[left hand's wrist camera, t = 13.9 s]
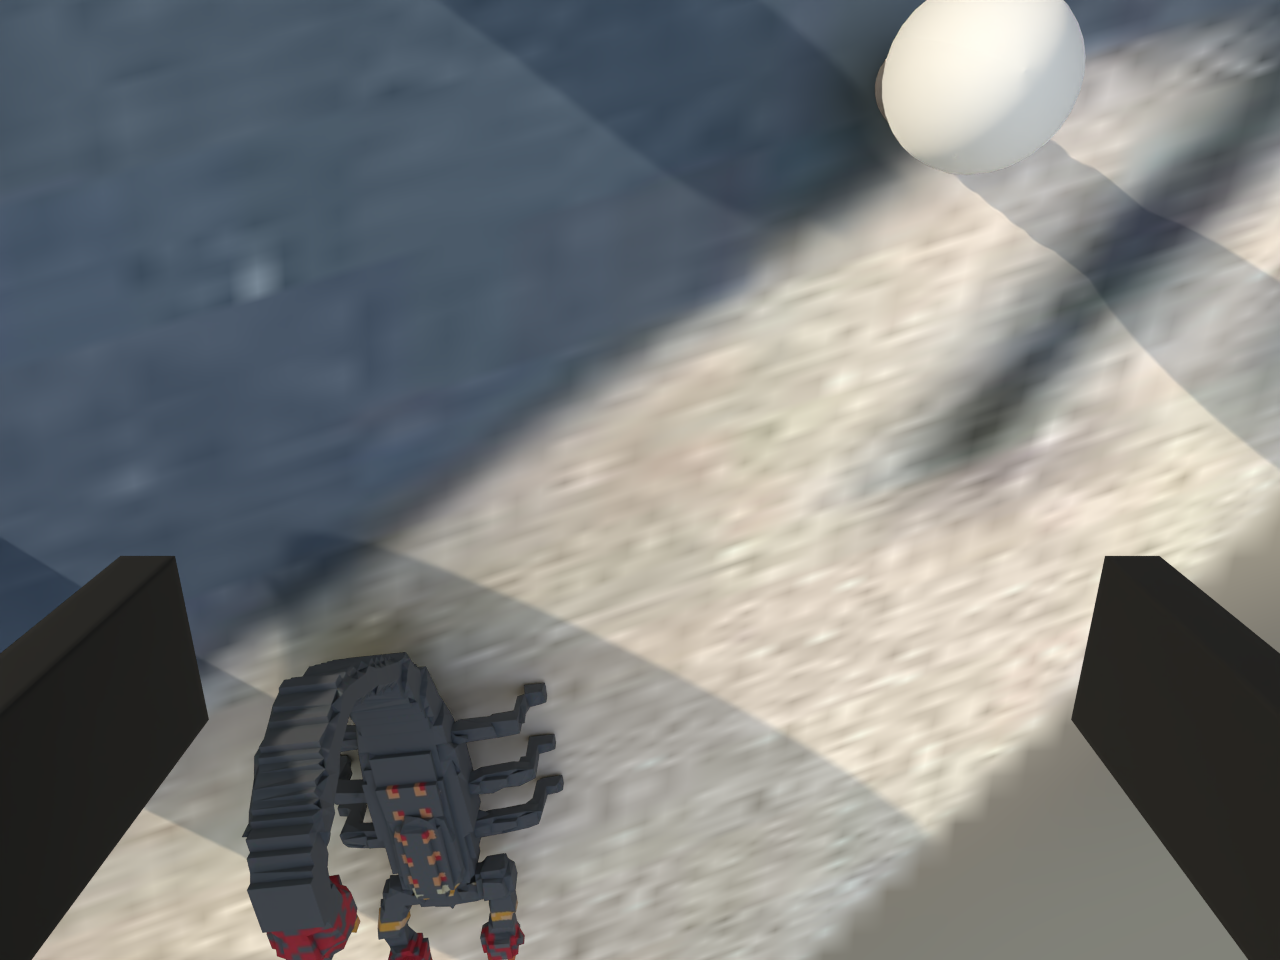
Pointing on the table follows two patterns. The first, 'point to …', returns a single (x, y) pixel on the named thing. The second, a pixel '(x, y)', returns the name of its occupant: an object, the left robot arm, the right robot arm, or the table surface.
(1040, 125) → the light bulb
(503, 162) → the table surface
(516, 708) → the toy
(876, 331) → the table surface
